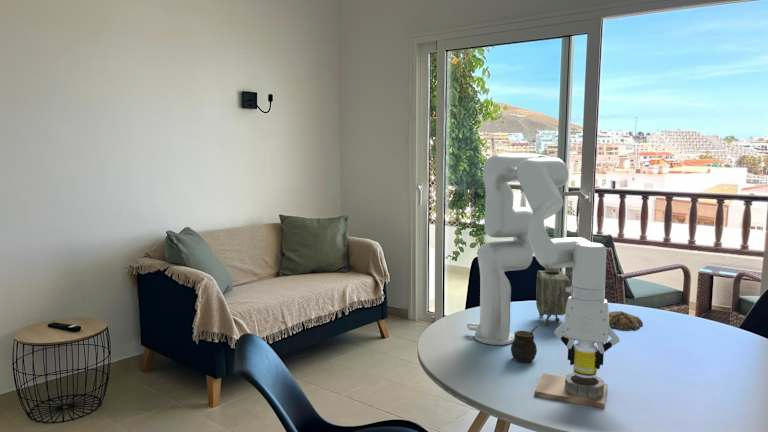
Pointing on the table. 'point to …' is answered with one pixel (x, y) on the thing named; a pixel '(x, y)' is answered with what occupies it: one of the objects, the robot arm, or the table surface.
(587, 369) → the supplement bottle
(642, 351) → the table surface
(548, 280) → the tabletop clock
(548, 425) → the table surface
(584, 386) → the collar board
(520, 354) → the mate gourd
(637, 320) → the bread roll
